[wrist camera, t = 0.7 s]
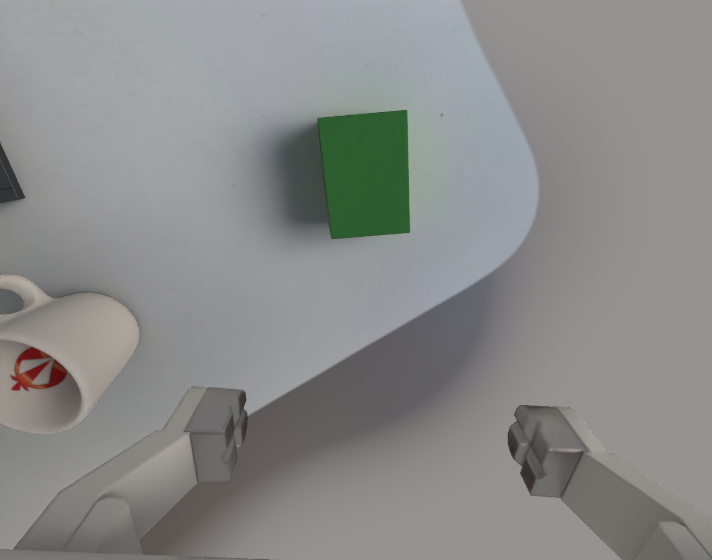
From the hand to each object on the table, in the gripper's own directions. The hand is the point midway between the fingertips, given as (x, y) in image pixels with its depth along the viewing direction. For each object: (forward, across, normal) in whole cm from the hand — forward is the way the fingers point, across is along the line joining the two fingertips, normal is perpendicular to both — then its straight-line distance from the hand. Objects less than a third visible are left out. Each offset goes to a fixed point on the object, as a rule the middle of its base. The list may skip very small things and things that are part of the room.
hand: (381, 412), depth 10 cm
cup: (+17, +22, +8) cm, 29 cm away
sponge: (+17, 0, -5) cm, 18 cm away
